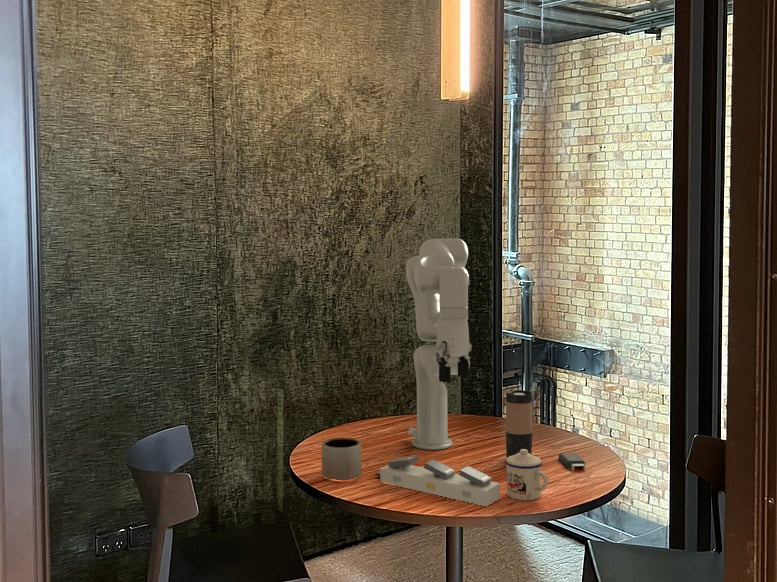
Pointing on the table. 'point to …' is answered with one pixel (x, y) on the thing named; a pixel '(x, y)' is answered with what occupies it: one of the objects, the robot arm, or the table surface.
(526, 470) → the teacup with lid
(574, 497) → the table surface
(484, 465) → the table surface
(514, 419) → the travel mug
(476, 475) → the rocker right
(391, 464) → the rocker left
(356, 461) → the planter
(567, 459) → the usb drive
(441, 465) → the rocker middle
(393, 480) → the power strip
